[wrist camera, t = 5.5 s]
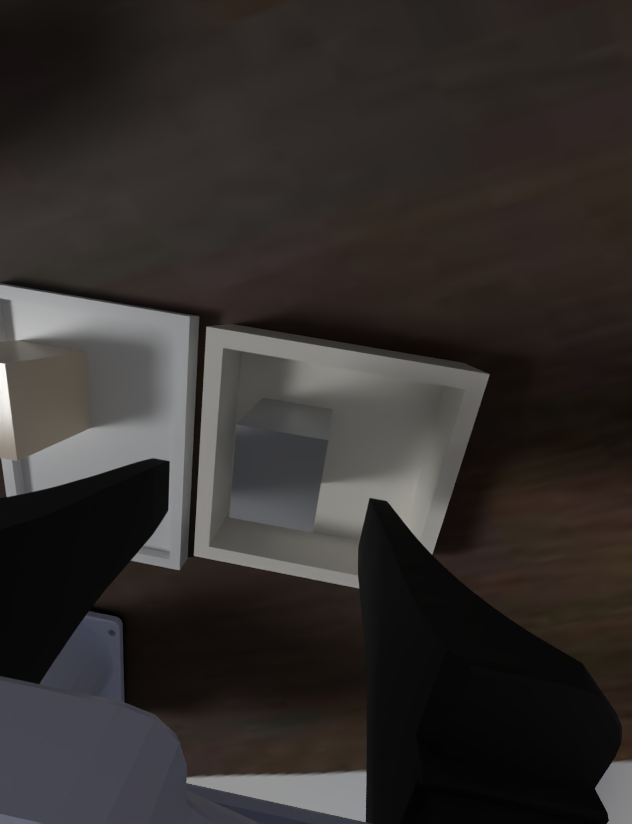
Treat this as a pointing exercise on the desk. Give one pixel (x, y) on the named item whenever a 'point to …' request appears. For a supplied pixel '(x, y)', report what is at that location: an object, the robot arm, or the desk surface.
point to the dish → (333, 443)
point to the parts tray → (116, 399)
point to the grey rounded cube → (279, 464)
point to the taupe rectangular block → (40, 397)
